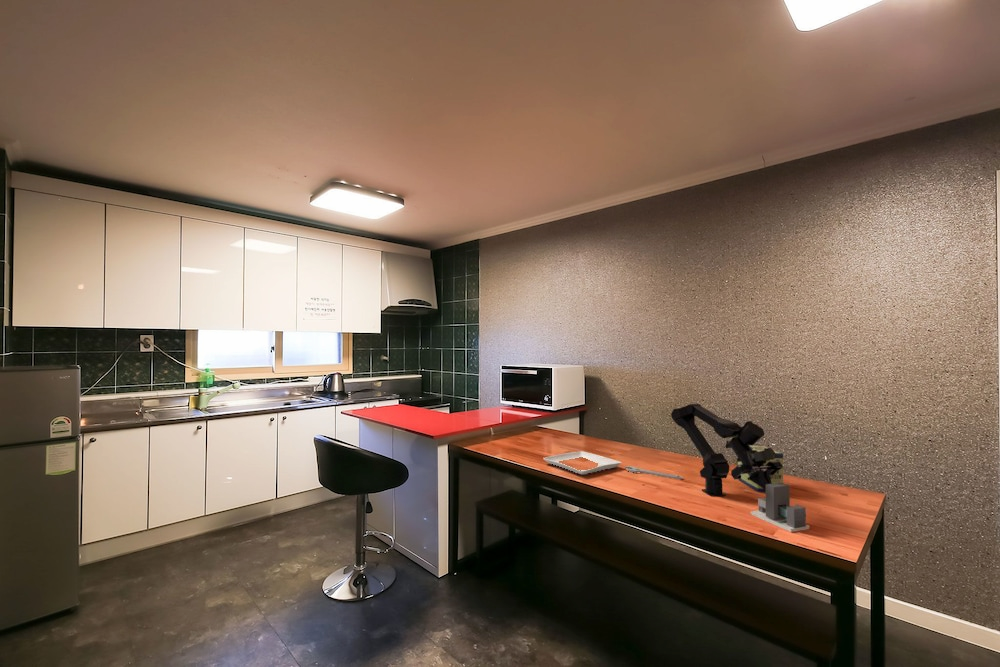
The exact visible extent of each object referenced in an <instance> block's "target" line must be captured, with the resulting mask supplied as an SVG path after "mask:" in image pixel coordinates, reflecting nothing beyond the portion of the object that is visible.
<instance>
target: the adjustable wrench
mask: <svg viewBox="0 0 1000 667" xmlns="http://www.w3.org/2000/svg"><path fill="white" fill-rule="evenodd" d="M625 468H628V469H625V471H626V470H627V471H630V472H634V473H633V474H638V473H637V472H640V473H639V474H643V473H646V474H645V475H649V474H652V475H651V476H654V475H657V476H656V477H660V476H663V477H662V478H666V477H669V478H668V479H672V478H674V479H673V480H677V479H680V480H679V481H681V479H682V480H683V476H682V475H677V474H672V473H671V474H669V473H667V472H666V473H665V472H660V471H659V472H658V471H653V470H647V469H643V468H639V467H636V466H632V465H628V466H627V465H626V466H625ZM630 472H629V473H630Z"/></svg>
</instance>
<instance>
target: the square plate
mask: <svg viewBox="0 0 1000 667" xmlns="http://www.w3.org/2000/svg"><path fill="white" fill-rule="evenodd" d="M579 457H583V458H586V459H588V460H590V461H593V462H595V463H598V466H597V467H595V468H592V469H588V470H581V471H580V470H577V469H575V468H572V467H570V466H567V465H565V464H562V463H559V461H563V460H569V459H575V458H579ZM542 459H543V460H544V461H545V462H546V463H548V464H550V465H552V464H553V465H552V466H555V465H556V466H555V467H557V466H559V467H558V468H560V467H562V468H561V469H563V468H565V469H564V470H566V469H568V470H567V471H569V470H570V471H569V472H571V471H573V472H572V473H574V472H575V474H577V473H578V474H579V475H589V474H588V473H591V474H593V473H592V472H595V473H598V472H597V471H599V472H602V471H601V470H603V471H606V470H605V469H608V470H610V469H613V468H617V467H619V466H621V464H622V462H623V461H618V460H617V459H613V458H609V457H606V456H602V455H599V454H595V453H591V452H587V451H582V450H579V451H574V452H566V453H560V454H556V455H550V456H546V457H543V458H542ZM578 474H577V475H578Z"/></svg>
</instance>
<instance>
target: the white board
mask: <svg viewBox="0 0 1000 667" xmlns="http://www.w3.org/2000/svg"><path fill="white" fill-rule="evenodd" d="M750 515H752V516H753V517H756V518H758V519H760V520H763V521H764V522H767V523H769V524H772V525H774V526H776V527H779V528H781V529H783V530H785V531H787V532H790V533H792V532H801V531H807V530H810V525H809V524H806V527H800V528H792V527H790V526H788V525H787V518H782V519H775V520H774V519H771V518H769V517H767V516H766V512H763V513H762V512H760V511H759V509H757V510H752V511H750Z"/></svg>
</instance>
